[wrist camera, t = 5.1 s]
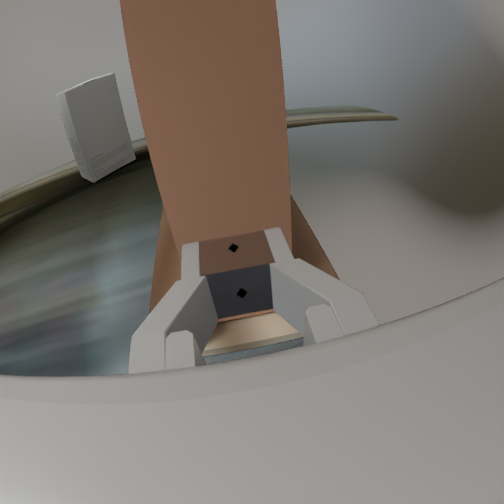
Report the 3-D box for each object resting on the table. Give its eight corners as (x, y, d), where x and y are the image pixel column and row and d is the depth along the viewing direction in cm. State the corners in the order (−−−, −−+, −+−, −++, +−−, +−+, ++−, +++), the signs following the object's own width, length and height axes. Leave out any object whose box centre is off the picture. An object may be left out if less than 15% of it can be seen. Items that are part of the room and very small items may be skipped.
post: (202, 324, 16) (118, -10, 6) (198, 256, 20) (146, 12, 10) (292, 307, 16) (271, -33, 6) (269, 243, 21) (244, -3, 11)
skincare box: (121, 157, 45) (101, 76, 36) (138, 160, 42) (117, 70, 32) (79, 179, 40) (53, 94, 31) (92, 185, 37) (63, 88, 28)
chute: (164, 362, 15) (95, 235, 10) (178, 171, 36) (164, 106, 30) (342, 327, 16) (364, 185, 10) (256, 157, 36) (249, 91, 31)
